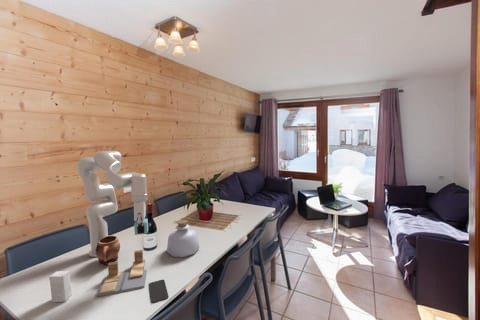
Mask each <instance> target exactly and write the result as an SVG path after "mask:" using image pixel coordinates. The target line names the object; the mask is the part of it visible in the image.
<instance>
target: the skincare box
mask: <svg viewBox="0 0 480 320" xmlns="http://www.w3.org/2000/svg"><path fill="white" fill-rule="evenodd" d="M48 278H49V285H50V294H51V295H50V296H51V303H57V302H58V303H66V302H67V301H68V300H69V299H70V298H71V297H72V296H73V293H72V292H73V291H72V285H71V275H70V271H69V270H66V271H65V270H63V271H59V270H58V271H55V272H54V273H52V274H51V275H49V277H48Z"/></svg>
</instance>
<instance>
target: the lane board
mask: <svg viewBox="0 0 480 320" xmlns="http://www.w3.org/2000/svg"><path fill="white" fill-rule="evenodd" d="M147 271H148V270H147V269H144V270H143V276H141V277H135V278H130V279H129V277H130V273H131V271H130V272H127V271H126V272H124V273H121V274H120V277H119V280H118V281H116V282H111V283H105V284H104V282H105V279H106V277H107V275H106V276H104V277H103V280H102V282H101V284H100V286H99V289H98V291H97V293H96V297H103V296H107V295H108V296H109V295H113V294H119V293H123V292H124V293H125V292H129V291H134V290H138V289H144V288H145V286H146V279H147Z"/></svg>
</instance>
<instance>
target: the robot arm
mask: <svg viewBox="0 0 480 320" xmlns="http://www.w3.org/2000/svg"><path fill="white" fill-rule="evenodd" d="M122 158H123V157H122V154H121V153H120V151H118V150H101V151H97V152H95V154H94V155H93V156H87V157H84V158H81V159H79V160H78V162H77V165H76V166H77V171H78V174H79V176H80V178H81V180H82V184H83V188H84V195H85V197H86V201H88V202H94V203H91V204H89V205H88V206H87V207H86V209H85V215H86V217H87V221H88V227H89V228H88V229H89V241H90V250H89V251H88V256H89V257H91V258H98V257H97V255H96V247H97V244H98V241H99V240H100V239H101V238H103V237H106V236H109V231H108V223H107V221H106V219H104V218H105V217H108V216H110V215H113V214H115V213H117V211H118V210H119V209H118V208H119V207H118V201H117V195H116V191H115V189H116V190H121V189H125V188H130V189H131V190H130V191H131V202H133V221H134V222H135V221H136V220H137V233H138V234H139V235H141V234H140V233H144V225H143V220H144V219H146V214H147V213H146V212H147V207H146V201H148V184H147V183H148V180H147V174H145V173H138V172H136V171H133V172H126V173H125V172H123V173H119V171H120V170H121V169H122V163H121V162H122V160H123V159H122ZM96 171H104V177H105V180H106V183H101V181H100V177H99V175H98V174H97V173H95V172H96ZM118 173H119V174H118ZM104 199H105V200H104ZM99 200H100V201H99ZM102 200H103V201H102ZM95 201H97V202H95ZM141 219H142V220H141ZM141 221H142V222H141Z"/></svg>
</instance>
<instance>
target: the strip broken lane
mask: <svg viewBox="0 0 480 320" xmlns="http://www.w3.org/2000/svg"><path fill="white" fill-rule="evenodd" d="M107 271H108V272H107V273H108V274H107V275H106V276H107V277H106V276H105V277H106V279H105V282H104V284H105V283H111V282H116V281H118V280H119V277H120V274H122V273H121V271H119V261H118V260H117V261H116V262H111V263H109V264H108V265H107Z"/></svg>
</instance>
